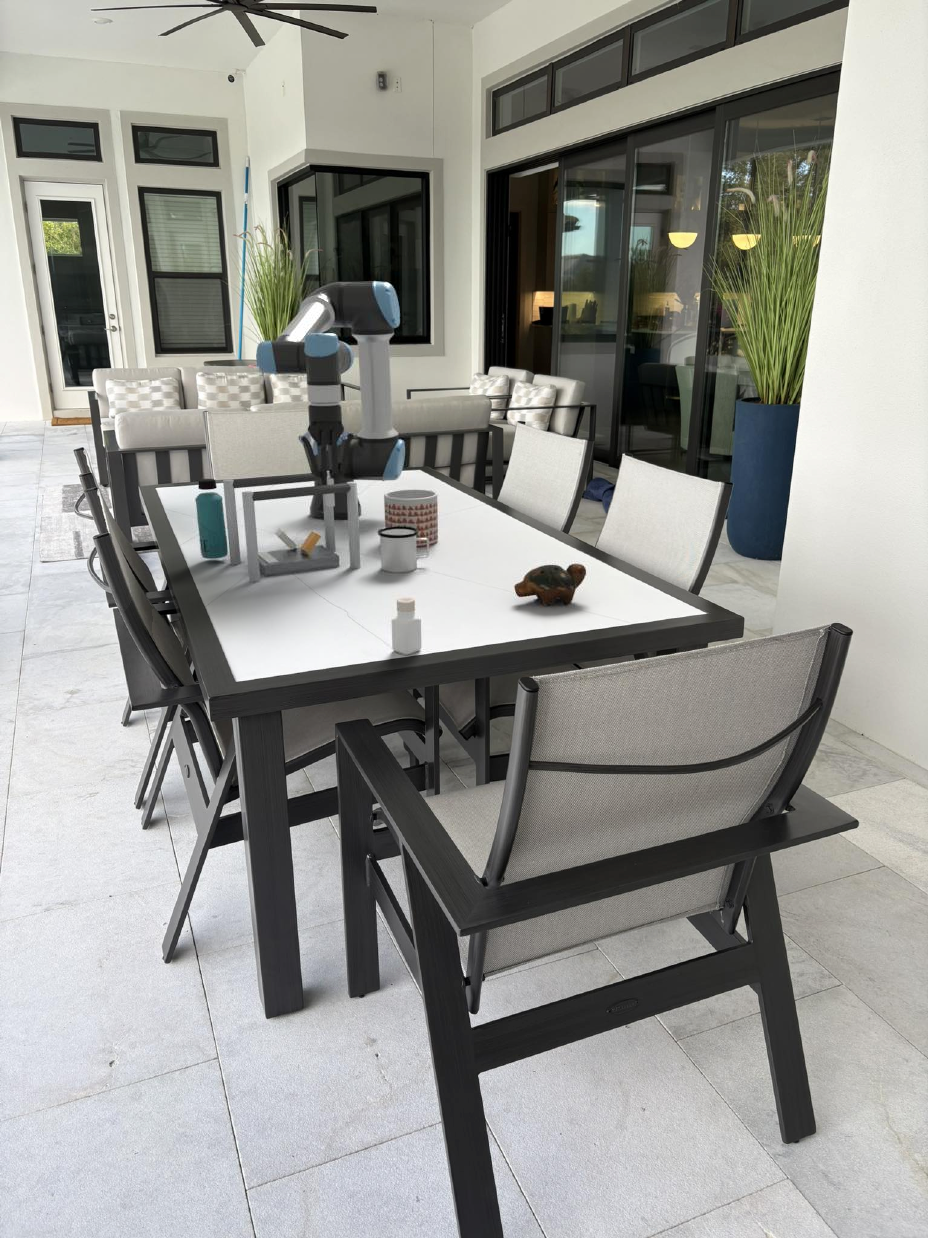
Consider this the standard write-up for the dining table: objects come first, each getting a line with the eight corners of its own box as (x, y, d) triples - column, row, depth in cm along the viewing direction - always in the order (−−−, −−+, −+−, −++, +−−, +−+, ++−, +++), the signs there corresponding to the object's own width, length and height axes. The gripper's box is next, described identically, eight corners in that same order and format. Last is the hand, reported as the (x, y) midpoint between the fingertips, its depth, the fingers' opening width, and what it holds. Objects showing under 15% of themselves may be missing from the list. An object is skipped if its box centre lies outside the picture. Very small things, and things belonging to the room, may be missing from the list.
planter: (446, 538, 237) (446, 491, 233) (423, 550, 225) (422, 500, 221) (401, 533, 242) (400, 487, 238) (376, 545, 231) (374, 496, 227)
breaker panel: (322, 554, 222) (322, 543, 221) (339, 566, 212) (339, 554, 211) (250, 564, 214) (250, 552, 213) (265, 576, 204) (264, 564, 203)
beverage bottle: (234, 559, 218) (227, 477, 211) (218, 566, 212) (210, 482, 206) (211, 557, 220) (203, 475, 213) (195, 563, 214) (186, 480, 208)
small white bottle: (406, 656, 156) (405, 604, 153) (391, 651, 158) (389, 600, 155) (422, 650, 159) (422, 599, 156) (407, 645, 161) (405, 594, 158)
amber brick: (303, 553, 214) (317, 534, 215) (307, 556, 212) (321, 536, 212) (298, 550, 213) (312, 530, 214) (302, 552, 211) (316, 533, 211)
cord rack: (333, 549, 226) (329, 470, 220) (362, 567, 210) (358, 483, 204) (229, 562, 215) (221, 479, 208) (251, 583, 199) (243, 493, 192)
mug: (383, 575, 204) (382, 536, 201) (375, 564, 213) (374, 527, 210) (434, 570, 207) (433, 532, 205) (424, 560, 216) (423, 524, 213)
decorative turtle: (594, 604, 183) (594, 567, 180) (525, 616, 180) (524, 579, 176) (575, 588, 192) (575, 553, 189) (509, 599, 188) (507, 564, 185)
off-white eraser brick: (295, 544, 218) (279, 528, 215) (299, 547, 216) (283, 531, 213) (290, 549, 218) (274, 533, 215) (294, 552, 216) (278, 536, 213)
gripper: (345, 401, 211) (350, 500, 218) (292, 403, 205) (298, 505, 213) (357, 403, 204) (361, 505, 212) (302, 406, 199) (308, 511, 206)
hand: (329, 505), depth 212 cm, fingers closed
